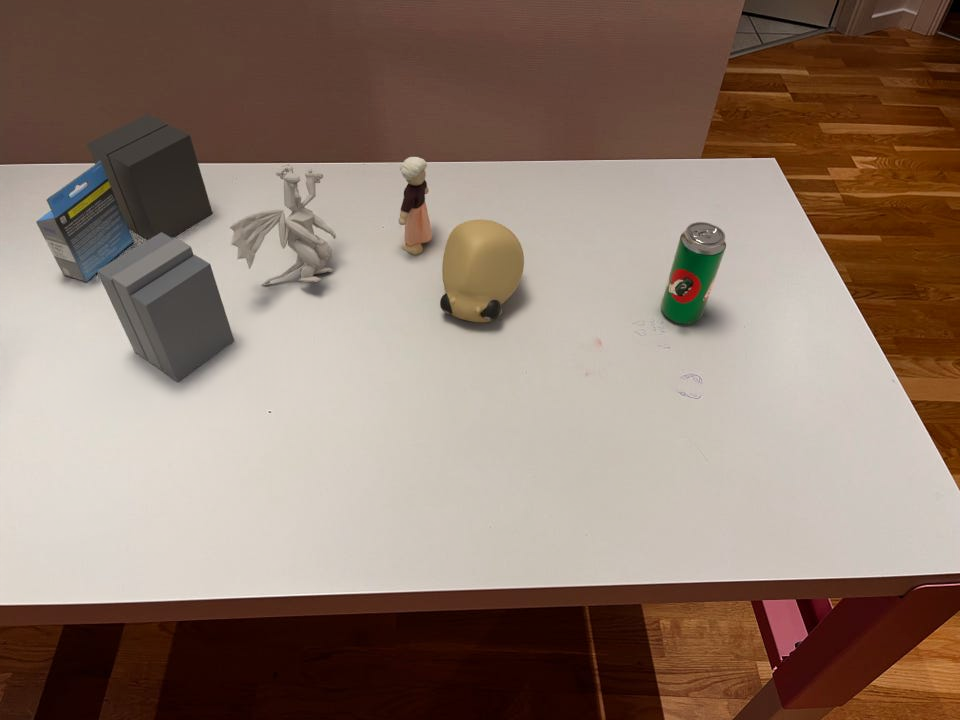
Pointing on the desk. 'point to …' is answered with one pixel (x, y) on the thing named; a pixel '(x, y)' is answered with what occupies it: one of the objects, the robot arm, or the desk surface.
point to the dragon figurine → (288, 229)
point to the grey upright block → (168, 305)
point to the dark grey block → (153, 176)
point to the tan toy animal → (480, 270)
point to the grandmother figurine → (415, 206)
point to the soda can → (693, 272)
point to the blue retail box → (85, 225)
